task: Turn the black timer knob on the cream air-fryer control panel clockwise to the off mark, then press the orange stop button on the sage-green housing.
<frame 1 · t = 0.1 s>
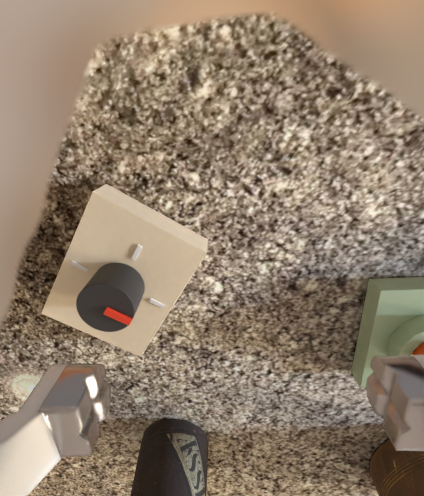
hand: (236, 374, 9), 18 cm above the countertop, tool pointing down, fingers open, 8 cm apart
container: (175, 437, 38), on the countertop
timer knob: (112, 297, 23), point 5 cm above the countertop, hinge at 90.0°
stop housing: (407, 327, 30), on the countertop
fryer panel: (129, 268, 28), on the countertop
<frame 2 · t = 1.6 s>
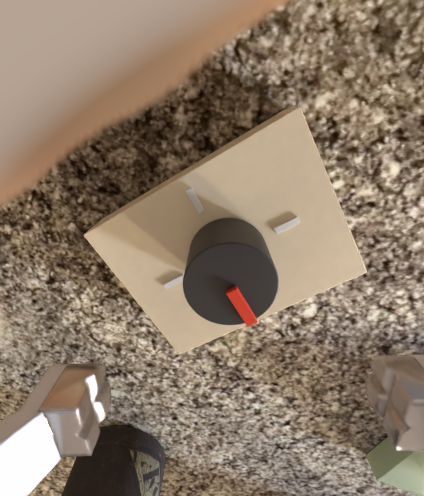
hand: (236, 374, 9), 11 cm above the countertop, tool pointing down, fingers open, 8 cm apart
container: (125, 449, 29), on the countertop
timer knob: (229, 270, 15), point 5 cm above the countertop, hinge at 90.0°
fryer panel: (226, 235, 19), on the countertop
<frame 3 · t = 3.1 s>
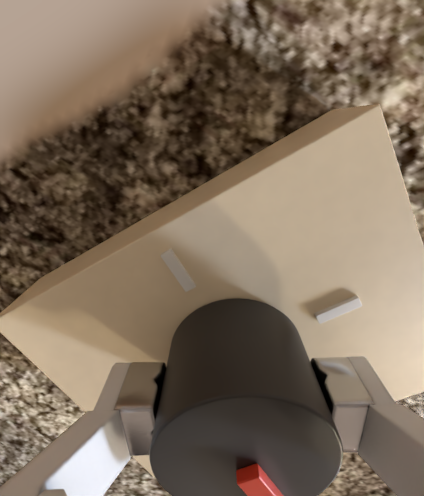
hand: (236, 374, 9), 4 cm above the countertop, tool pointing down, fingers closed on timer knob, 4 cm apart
timer knob: (239, 402, 8), point 5 cm above the countertop, hinge at 90.1°, touching gripper
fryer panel: (231, 301, 13), on the countertop
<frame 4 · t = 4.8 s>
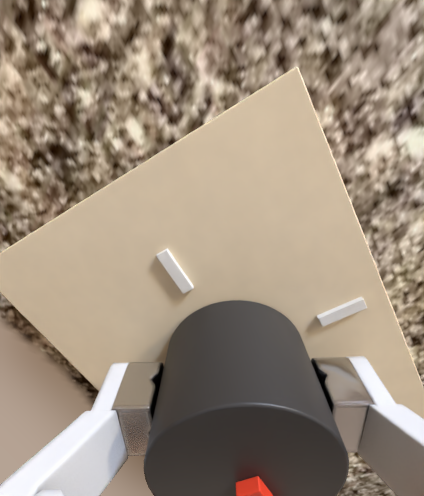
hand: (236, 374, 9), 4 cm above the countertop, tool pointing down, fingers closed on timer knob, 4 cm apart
timer knob: (239, 409, 8), point 5 cm above the countertop, hinge at -2.0°, touching gripper
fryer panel: (230, 302, 12), on the countertop
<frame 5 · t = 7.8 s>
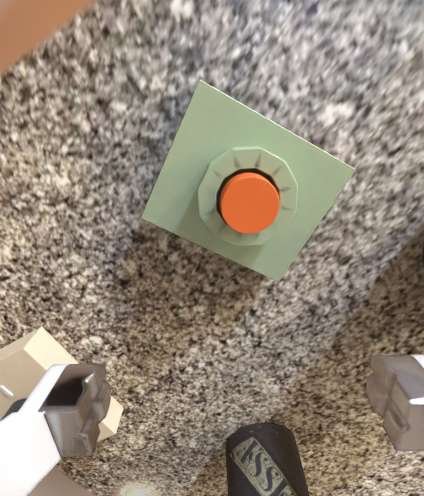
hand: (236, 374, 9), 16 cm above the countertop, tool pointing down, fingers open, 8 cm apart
container: (259, 442, 35), on the countertop
timer knob: (21, 433, 26), point 5 cm above the countertop, hinge at -2.3°
stop button: (248, 202, 18), point 4 cm above the countertop, slide at 0.1 cm
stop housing: (241, 188, 23), on the countertop
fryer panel: (49, 387, 31), on the countertop
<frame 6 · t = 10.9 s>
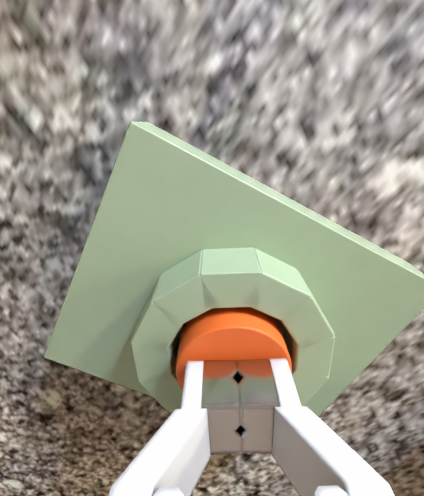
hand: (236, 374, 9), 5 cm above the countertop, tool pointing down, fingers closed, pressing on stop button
stop button: (232, 353, 10), point 4 cm above the countertop, slide at -0.7 cm, touching gripper
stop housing: (227, 294, 13), on the countertop
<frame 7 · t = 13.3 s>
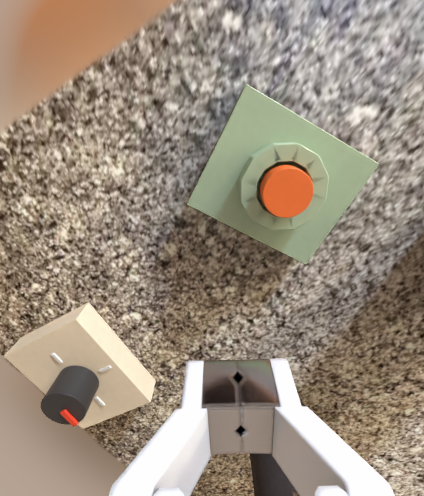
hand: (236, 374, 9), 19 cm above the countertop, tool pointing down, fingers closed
container: (278, 418, 38), on the countertop
timer knob: (70, 395, 30), point 5 cm above the countertop, hinge at -2.3°
stop button: (285, 191, 21), point 4 cm above the countertop, slide at 0.1 cm
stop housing: (275, 180, 25), on the countertop
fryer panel: (90, 359, 34), on the countertop
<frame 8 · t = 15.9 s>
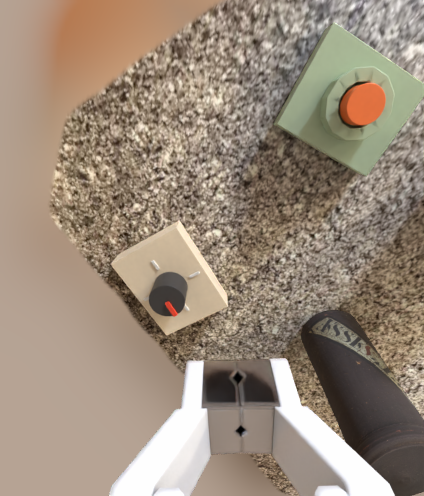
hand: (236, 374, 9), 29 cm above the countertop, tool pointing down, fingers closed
container: (327, 330, 44), on the countertop
timer knob: (168, 294, 36), point 5 cm above the countertop, hinge at -2.3°
stop button: (361, 105, 28), point 4 cm above the countertop, slide at 0.1 cm
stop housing: (343, 107, 32), on the countertop
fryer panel: (174, 275, 41), on the countertop
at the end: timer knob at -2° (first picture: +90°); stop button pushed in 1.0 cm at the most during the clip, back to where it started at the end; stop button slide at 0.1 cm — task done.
